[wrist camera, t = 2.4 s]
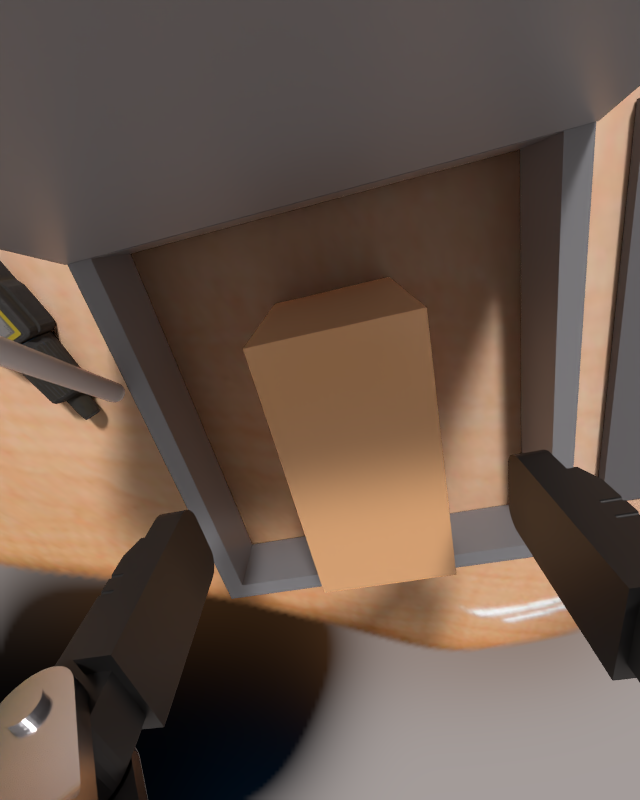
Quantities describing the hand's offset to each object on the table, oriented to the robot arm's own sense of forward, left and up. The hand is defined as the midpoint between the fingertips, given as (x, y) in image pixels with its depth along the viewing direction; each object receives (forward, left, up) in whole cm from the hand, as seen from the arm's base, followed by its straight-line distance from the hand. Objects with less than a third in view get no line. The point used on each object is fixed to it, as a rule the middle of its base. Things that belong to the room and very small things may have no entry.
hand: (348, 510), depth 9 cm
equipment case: (0, -2, -7) cm, 7 cm away
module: (-1, 0, -7) cm, 7 cm away
